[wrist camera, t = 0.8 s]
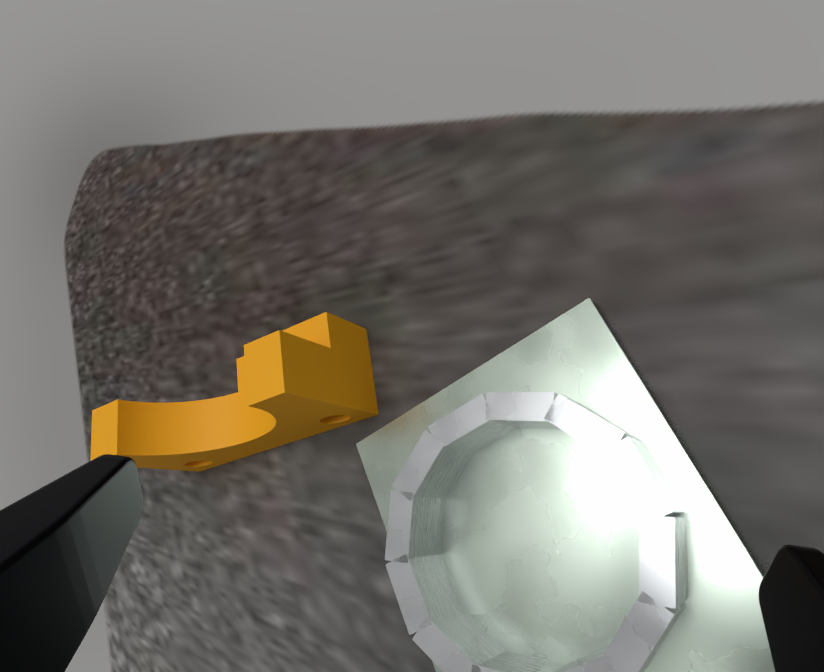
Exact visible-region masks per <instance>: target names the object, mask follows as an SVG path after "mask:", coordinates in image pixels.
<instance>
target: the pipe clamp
mask: <svg viewBox="0 0 824 672" xmlns="http://www.w3.org/2000/svg"><path fill="white" fill-rule="evenodd" d="M236 360H237V377H238V392H237V393H234V394H230V395H226V396H222V397H217V398H212V399H206V400H198V401H189V402H175V403H147V402H133V401H124V400H116V401H113V402H111V403H109V404H106V405H104V406H102V407H99V408H97V409H95V410H93V411H92V436H91V460H93V459H95V458H97V457H99V456H101V455H104V454H111V455H119V456H126V457H130V458H132V459H133V460H134V461H135V463H136V466H137V467H140V468H154V469H169V470H184V471H199V472H200V471H203V470H206V469H209V468H212V467H216V466H219V465H222V464H225V463H228V462H231V461H234V460H238V459H241V458H244V457H247V456H250V455H253V454H256V453H259V452H263V451H266V450H269V449H272V448H275V447H278V446H281V445H284V444H288V443H291V442H294V441H297V440H300V439H303V438H306V437H310V436H313V435H316V434H319V433H322V432H325V431H328V430H331V429H335V428H338V427H341V426H344V425H347V424H350V423H353V422H357V421H360V420H363V419H366V418H369V417H372V416H375V415H378V407H377V400H376V393H375V386H374V379H373V372H372V365H371V358H370V351H369V344H368V337H367V330H366V329H365V328H363V327H361V326H358V325H356V324H354V323H351V322H349V321H347V320H344V319H342V318H340V317H337V316H335V315H332V314H330V313H328V312H325V313H323V314H320V315H318V316H316V317H313V318H311V319H309V320H306V321H304V322H302V323H299V324H297V325H295V326H292V327H290V328H288V329H285V330H283V331H281V330H278V331H276V332H274V333H271V334H269V335H267V336H264V337H262V338H260V339H257V340H255V341H253V342H250V343H248V344H246V345H244V356H243V357H241V358H238V359H236Z"/></svg>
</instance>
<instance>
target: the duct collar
mask: <svg viewBox="0 0 824 672" xmlns="http://www.w3.org/2000/svg"><path fill="white" fill-rule="evenodd" d="M356 445H357V448H358V451H359V454H360V457H361V460H362V462H363V465H364V468H365V471H366V474H367V477H368V480H369V482H370V485H371V488H372V491H373V494H374V497H375V499H376V502H377V505H378V508H379V511H380V514H381V517H382V519H383V522H384V525H385V528H386V531H387V540H386V552H385V560H389V561H392V562H390V563H388V564H386V568H387V571H388V574H389V577H390V580H391V583H392V586H393V589H394V591H395V594H396V597H397V600H398V603H399V606H400V609H401V612H402V615H403V618H404V621H405V624H406V627H407V629H408V632H409V635H411V634H414V633H416V634H415V636H414V637H413V639H412V640H413V641H414V642H415V643H416V644H417V645H418V646H419V647H420V648H421V649H422V650H423V651H424V652H425V653H426V654H427V655H428V656H429V658H430V659H431V660H432V662H433V665H434V667H435V670H436V672H775V670H774V665H773V661H772V657H771V652H770V648H769V643H768V639H767V635H766V630H765V626H764V621H763V617H762V613H761V608H760V604H759V587H760V584H761V581H762V579H763V577H764V574H763V573H762V571H761V569H760V568H759V566H758V565H757V563H756V561H755V560H754V558H753V557H752V555H751V553H750V552H749V550H748V549H747V547H746V545H745V544H744V542H743V541H742V539H741V537H740V536H739V534H738V533H737V531H736V529H735V528H734V526H733V525H732V523H731V521H730V520H729V518H728V517H727V515H726V513H725V512H724V510H723V509H722V507H721V505H720V504H719V502H718V500H717V499H716V497H715V496H714V494H713V492H712V491H711V489H710V488H709V486H708V484H707V483H706V481H705V480H704V478H703V476H702V475H701V473H700V472H699V470H698V468H697V467H696V465H695V464H694V462H693V460H692V459H691V457H690V456H689V454H688V452H687V451H686V449H685V448H684V446H683V444H682V443H681V441H680V440H679V438H678V436H677V435H676V433H675V431H674V430H673V428H672V427H671V425H670V423H669V422H668V420H667V419H666V417H665V415H664V414H663V412H662V411H661V409H660V407H659V406H658V404H657V403H656V401H655V399H654V398H653V396H652V395H651V393H650V391H649V390H648V388H647V387H646V385H645V383H644V382H643V380H642V379H641V377H640V375H639V374H638V372H637V371H636V369H635V367H634V366H633V364H632V362H631V361H630V359H629V358H628V356H627V354H626V353H625V351H624V350H623V348H622V346H621V345H620V343H619V342H618V340H617V338H616V337H615V335H614V334H613V332H612V330H611V329H610V327H609V326H608V324H607V322H606V321H605V319H604V318H603V316H602V314H601V313H600V311H599V310H598V308H597V306H596V305H595V303H594V302H593V301H592V300H591V299H590V298H588V299H587V300H585V301H583V302H582V303H580V304H579V305H577V306H575V307H574V308H572V309H571V310H569V311H567V312H566V313H564V314H563V315H561V316H559V317H558V318H556V319H555V320H553V321H552V322H550V323H548V324H547V325H545V326H544V327H542V328H540V329H539V330H537V331H536V332H534V333H532V334H531V335H529V336H528V337H526V338H524V339H523V340H521V341H520V342H518V343H516V344H515V345H513V346H512V347H510V348H508V349H507V350H505V351H504V352H502V353H500V354H499V355H497V356H496V357H494V358H492V359H491V360H489V361H488V362H486V363H484V364H483V365H481V366H480V367H478V368H477V369H475V370H473V371H472V372H470V373H469V374H467V375H465V376H464V377H462V378H461V379H459V380H457V381H456V382H454V383H453V384H451V385H449V386H448V387H446V388H445V389H443V390H441V391H440V392H438V393H437V394H435V395H433V396H432V397H430V398H429V399H427V400H425V401H424V402H422V403H421V404H419V405H417V406H416V407H414V408H413V409H411V410H410V411H408V412H406V413H405V414H403V415H402V416H400V417H398V418H397V419H395V420H394V421H392V422H390V423H389V424H387V425H386V426H384V427H382V428H381V429H379V430H378V431H376V432H374V433H373V434H371V435H370V436H368V437H366V438H365V439H363V440H362V441H360V442H358V443H357V444H356Z"/></svg>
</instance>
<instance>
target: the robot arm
mask: <svg viewBox="0 0 824 672" xmlns="http://www.w3.org/2000/svg"><path fill="white" fill-rule="evenodd" d="M142 509H143V495H142V490H141V485H140V480H139V475H138V471H137V466H136V463H135V461H134V460H133V459H132V458H130V457H126V456H119V455H111V454H104V455H101V456H99V457H97V458H95V459H93V460H91V461H89V462H88V463H86V464H84V465H82V466H81V467H79V468H77V469H75V470H73V471H71V472H69V473H68V474H66V475H64V476H62V477H60V478H59V479H57V480H55V481H53V482H51V483H49V484H48V485H46V486H44V487H42V488H40V489H39V490H37V491H35V492H33V493H31V494H29V495H27V496H26V497H24V498H22V499H20V500H19V501H17V502H15V503H13V504H11V505H9V506H8V507H6V508H4V509H2V510H0V672H65V670H66V668H67V666H68V665H69V663H70V661H71V659H72V657H73V656H74V654H75V652H76V650H77V649H78V647H79V645H80V644H81V642H82V640H83V638H84V636H85V635H86V633H87V631H88V629H89V628H90V626H91V624H92V622H93V620H94V618H95V616H96V615H97V612H98V610H99V608H100V606H101V604H102V602H103V600H104V598H105V595H106V593H107V591H108V588H109V586H110V584H111V582H112V579H113V577H114V575H115V573H116V570H117V568H118V566H119V563H120V561H121V559H122V557H123V554H124V552H125V550H126V548H127V545H128V543H129V541H130V538H131V536H132V534H133V532H134V529H135V527H136V525H137V523H138V520H139V518H140V515H141V512H142ZM759 604H760V608H761V613H762V617H763V621H764V626H765V630H766V635H767V639H768V643H769V648H770V652H771V657H772V661H773V665H774V670H775V672H824V554H823V553H822V552H820V551H819V550H817V549H814V548H809V547H802V546H794V545H784V546H782V547H781V548H779V550H778V551H777V553H776V555H775V557H774V559H773V560H772V562H771V564H770V566H769V568H768V570H767V572H766V574H765V576H764V577H763V579H762V581H761V584H760V587H759Z"/></svg>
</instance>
